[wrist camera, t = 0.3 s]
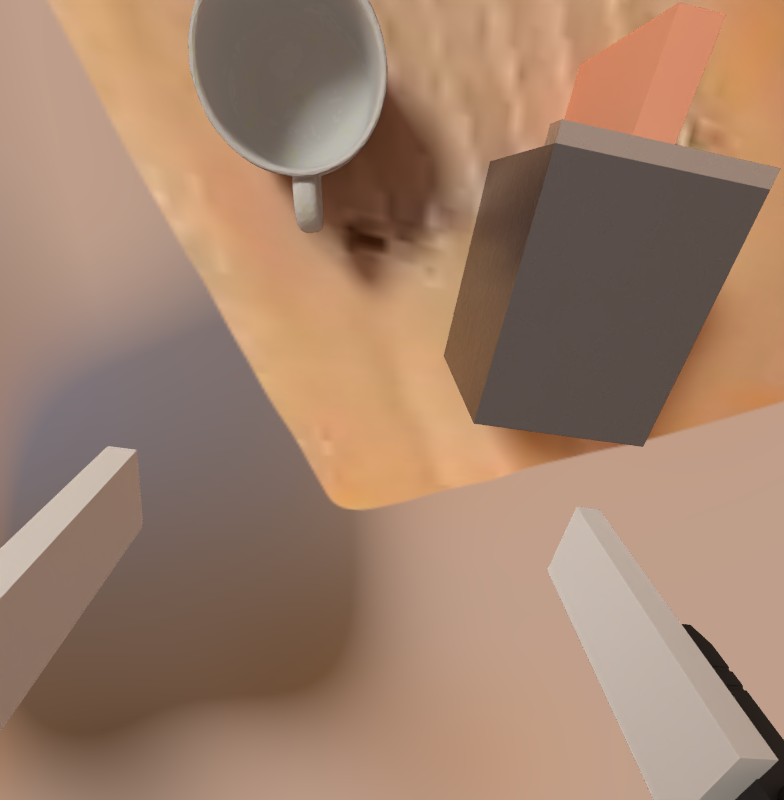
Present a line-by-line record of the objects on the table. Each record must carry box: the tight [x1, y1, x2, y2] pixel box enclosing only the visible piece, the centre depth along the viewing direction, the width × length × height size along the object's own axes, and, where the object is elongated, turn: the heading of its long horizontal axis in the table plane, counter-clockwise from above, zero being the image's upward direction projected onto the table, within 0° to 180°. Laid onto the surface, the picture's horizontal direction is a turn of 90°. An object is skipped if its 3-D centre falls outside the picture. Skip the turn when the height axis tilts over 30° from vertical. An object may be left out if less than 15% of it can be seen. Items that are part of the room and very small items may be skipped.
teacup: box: [188, 0, 388, 233], centre depth 28 cm, size 14×11×8 cm
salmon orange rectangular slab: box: [564, 2, 726, 145], centre depth 28 cm, size 12×2×11 cm, turn 170°
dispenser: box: [444, 119, 781, 447], centre depth 31 cm, size 17×12×13 cm
